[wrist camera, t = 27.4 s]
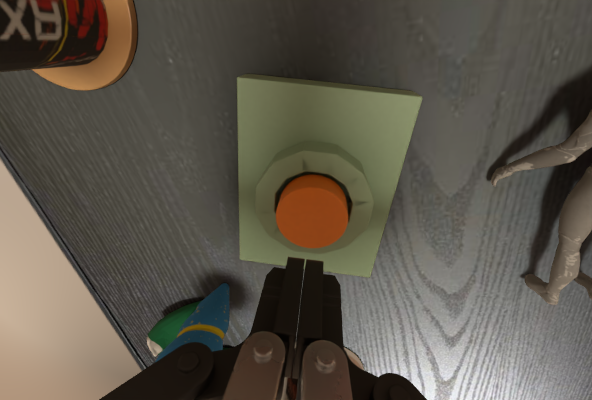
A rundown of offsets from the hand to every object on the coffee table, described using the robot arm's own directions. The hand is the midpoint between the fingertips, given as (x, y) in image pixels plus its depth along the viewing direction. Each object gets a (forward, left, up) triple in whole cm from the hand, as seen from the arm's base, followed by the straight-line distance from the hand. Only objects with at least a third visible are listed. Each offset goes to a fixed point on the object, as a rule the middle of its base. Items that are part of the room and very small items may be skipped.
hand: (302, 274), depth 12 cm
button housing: (0, 0, -9) cm, 9 cm away
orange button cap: (0, 0, -6) cm, 6 cm away
